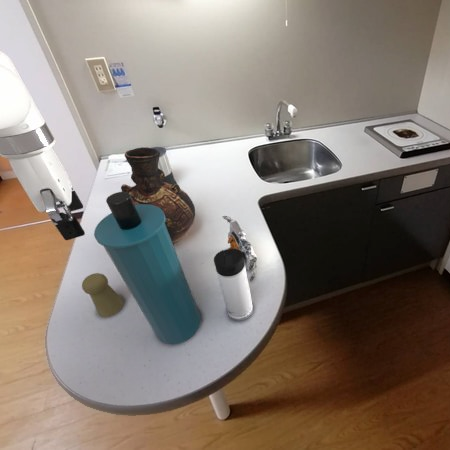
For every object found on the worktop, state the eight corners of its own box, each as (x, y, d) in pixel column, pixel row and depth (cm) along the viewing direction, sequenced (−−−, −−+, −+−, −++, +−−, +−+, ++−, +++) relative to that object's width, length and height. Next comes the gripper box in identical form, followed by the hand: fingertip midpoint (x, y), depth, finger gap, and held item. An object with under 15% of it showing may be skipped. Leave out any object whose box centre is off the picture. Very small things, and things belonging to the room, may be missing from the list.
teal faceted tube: (172, 353, 69) (117, 255, 48) (147, 327, 74) (88, 228, 53) (209, 321, 75) (174, 223, 54) (184, 299, 80) (143, 201, 60)
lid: (116, 261, 48) (98, 229, 44) (85, 231, 54) (66, 200, 49) (179, 225, 55) (168, 194, 51) (145, 202, 60) (133, 172, 56)
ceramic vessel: (125, 261, 91) (76, 172, 71) (140, 223, 104) (102, 140, 84) (198, 253, 93) (170, 165, 73) (203, 217, 106) (180, 135, 87)
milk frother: (164, 177, 126) (153, 144, 117) (194, 186, 121) (185, 152, 112) (137, 195, 117) (122, 161, 107) (169, 206, 111) (156, 170, 102)
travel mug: (229, 325, 74) (213, 270, 61) (227, 303, 79) (212, 247, 66) (254, 319, 75) (244, 264, 62) (251, 298, 80) (241, 242, 67)
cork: (128, 303, 79) (111, 275, 72) (106, 321, 75) (86, 293, 68) (115, 293, 82) (96, 265, 74) (93, 310, 78) (71, 282, 71)
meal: (224, 251, 93) (216, 218, 85) (237, 246, 95) (230, 213, 87) (246, 283, 84) (240, 249, 75) (260, 276, 86) (255, 242, 77)
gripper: (2, 125, 53) (54, 206, 64) (-17, 168, 41) (50, 257, 52) (53, 117, 56) (94, 195, 67) (49, 154, 44) (99, 241, 55)
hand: (75, 222), depth 59 cm, fingers open, 9 cm apart
